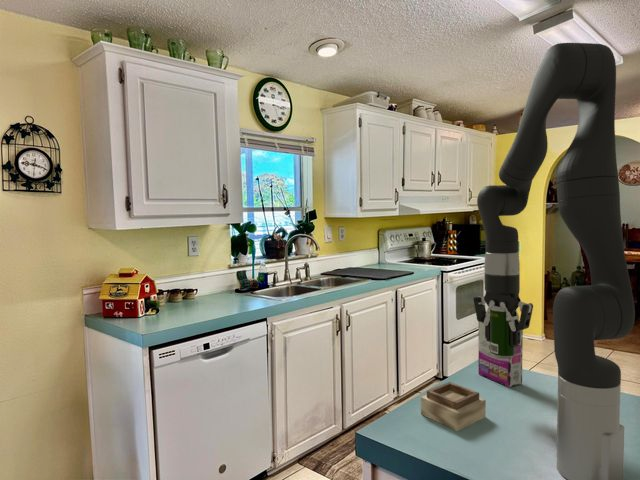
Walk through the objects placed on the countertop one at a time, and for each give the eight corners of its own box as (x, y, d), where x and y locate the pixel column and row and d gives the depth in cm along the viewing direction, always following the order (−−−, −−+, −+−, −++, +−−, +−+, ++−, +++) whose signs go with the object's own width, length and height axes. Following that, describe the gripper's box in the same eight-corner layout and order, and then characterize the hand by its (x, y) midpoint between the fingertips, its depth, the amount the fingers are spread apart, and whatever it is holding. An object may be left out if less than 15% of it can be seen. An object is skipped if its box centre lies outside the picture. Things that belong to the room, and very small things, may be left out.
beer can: (505, 360, 99) (505, 308, 98) (485, 355, 103) (484, 304, 103) (519, 356, 102) (519, 305, 101) (499, 350, 106) (498, 301, 106)
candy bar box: (523, 384, 115) (524, 323, 114) (509, 388, 113) (510, 326, 112) (490, 370, 125) (490, 314, 124) (477, 374, 123) (477, 316, 122)
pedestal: (485, 417, 98) (485, 393, 98) (457, 431, 92) (457, 405, 92) (448, 401, 106) (448, 379, 106) (420, 414, 100) (420, 390, 100)
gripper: (541, 272, 98) (540, 347, 99) (483, 267, 110) (484, 334, 110) (523, 276, 94) (523, 354, 94) (465, 270, 105) (465, 340, 106)
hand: (502, 343), depth 102 cm, fingers closed on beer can, 5 cm apart
